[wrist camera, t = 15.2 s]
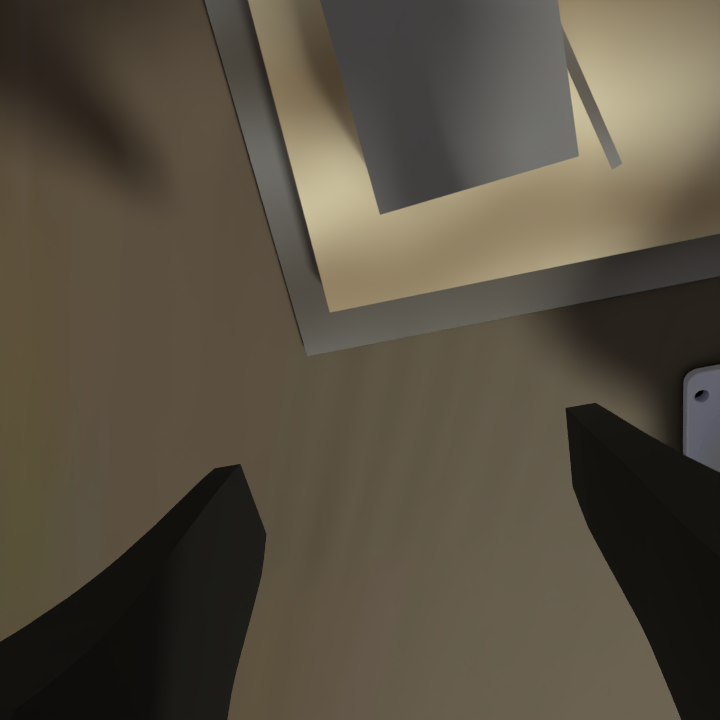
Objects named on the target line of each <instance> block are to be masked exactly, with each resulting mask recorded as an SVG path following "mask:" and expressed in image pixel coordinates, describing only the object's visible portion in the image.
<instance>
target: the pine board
mask: <svg viewBox="0 0 720 720" xmlns="http://www.w3.org/2000/svg"><path fill="white" fill-rule="evenodd" d="M205 4H206V7H207V11H208V14H209V18H210V21H211V25H212V28H213V32H214V35H215V39H216V42H217V46H218V49H219V52H220V56H221V59H222V63H223V66H224V70H225V73H226V77H227V80H228V84H229V87H230V91H231V94H232V97H233V101H234V104H235V108H236V111H237V115H238V118H239V122H240V125H241V129H242V132H243V136H244V139H245V142H246V146H247V149H248V153H249V156H250V160H251V163H252V167H253V170H254V174H255V177H256V181H257V184H258V188H259V191H260V194H261V198H262V201H263V205H264V208H265V212H266V215H267V219H268V222H269V226H270V229H271V233H272V236H273V239H274V243H275V246H276V250H277V253H278V257H279V260H280V264H281V267H282V271H283V274H284V278H285V281H286V284H287V288H288V291H289V295H290V298H291V302H292V305H293V309H294V312H295V316H296V319H297V323H298V326H299V330H300V333H301V336H302V340H303V343H304V347H305V350H306V354H307V356H311V355H316V354H321V353H326V352H332V351H337V350H342V349H347V348H352V347H357V346H363V345H368V344H373V343H378V342H383V341H388V340H393V339H399V338H404V337H409V336H414V335H419V334H424V333H430V332H435V331H440V330H445V329H450V328H455V327H461V326H466V325H471V324H476V323H481V322H486V321H491V320H497V319H502V318H507V317H512V316H517V315H522V314H528V313H533V312H538V311H543V310H548V309H553V308H559V307H564V306H569V305H574V304H579V303H584V302H590V301H595V300H600V299H605V298H610V297H615V296H620V295H626V294H631V293H636V292H641V291H646V290H651V289H657V288H662V287H667V286H672V285H677V284H682V283H688V282H693V281H698V280H703V279H708V278H713V277H719V276H720V0H558V4H559V12H560V19H561V26H562V34H563V41H564V49H565V56H566V63H567V71H568V78H569V86H570V93H571V100H572V108H573V115H574V123H575V130H576V137H577V145H578V152H579V156H578V157H575V158H572V159H568V160H565V161H561V162H558V163H555V164H551V165H548V166H544V167H541V168H538V169H534V170H531V171H527V172H524V173H521V174H517V175H514V176H511V177H507V178H504V179H500V180H497V181H494V182H490V183H487V184H483V185H480V186H477V187H473V188H470V189H466V190H463V191H460V192H456V193H453V194H449V195H446V196H443V197H439V198H436V199H433V200H429V201H426V202H422V203H419V204H416V205H412V206H409V207H405V208H402V209H399V210H395V211H392V212H388V213H385V214H382V215H380V213H379V210H378V206H377V202H376V199H375V195H374V192H373V188H372V185H371V181H370V177H369V174H368V170H367V167H366V163H365V160H364V156H363V152H362V149H361V145H360V142H359V138H358V135H357V131H356V127H355V124H354V120H353V117H352V113H351V110H350V106H349V102H348V99H347V95H346V92H345V88H344V85H343V81H342V77H341V74H340V70H339V67H338V63H337V60H336V56H335V52H334V49H333V45H332V42H331V38H330V35H329V31H328V27H327V24H326V20H325V17H324V13H323V10H322V6H321V2H320V0H205Z"/></svg>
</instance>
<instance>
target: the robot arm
mask: <svg viewBox="0 0 720 720" xmlns="http://www.w3.org/2000/svg"><path fill="white" fill-rule="evenodd" d="M701 390H704V392H703V394H702V395H701V396H699V397H695V394H696V393H697V392H698V391H701ZM566 417H567V429H568V440H569V451H570V462H571V473H572V484H573V489H574V491H575V494H576V497H577V499H578V502H579V505H580V507H581V510H582V512H583V515H584V518H585V520H586V523H587V525H588V528H589V530H590V531H591V533H592V535H593V537H594V539H595V541H596V543H597V545H598V547H599V548H600V550H601V552H602V554H603V556H604V558H605V560H606V561H607V563H608V565H609V567H610V569H611V571H612V572H613V574H614V576H615V578H616V580H617V582H618V583H619V585H620V587H621V589H622V591H623V593H624V594H625V596H626V598H627V600H628V602H629V604H630V605H631V607H632V609H633V611H634V613H635V615H636V616H637V618H638V620H639V622H640V624H641V626H642V628H643V630H644V632H645V635H646V637H647V639H648V641H649V643H650V645H651V648H652V650H653V652H654V655H655V657H656V659H657V662H658V664H659V667H660V669H661V671H662V674H663V676H664V678H665V681H666V683H667V686H668V688H669V690H670V693H671V695H672V698H673V700H674V703H675V705H676V708H677V710H678V713H679V715H680V718H681V720H720V364H719V365H714V366H708V367H702V368H697V369H694V370H692V371H690V372H689V373H688V374H687V375H686V376H685V378H684V382H683V454H682V453H680V452H678V451H676V450H674V449H673V448H671V447H669V446H667V445H665V444H663V443H662V442H660V441H658V440H656V439H655V438H653V437H651V436H649V435H648V434H646V433H644V432H643V431H641V430H639V429H638V428H636V427H634V426H633V425H631V424H630V423H628V422H626V421H625V420H623V419H621V418H620V417H618V416H617V415H615V414H613V413H612V412H610V411H608V410H607V409H605V408H603V407H602V406H600V405H598V404H597V403H592V404H586V405H580V406H575V407H569V408H566ZM265 542H266V532H265V529H264V526H263V524H262V521H261V518H260V516H259V513H258V510H257V508H256V505H255V502H254V500H253V497H252V494H251V492H250V489H249V486H248V483H247V481H246V478H245V475H244V473H243V470H242V467H241V465H240V464H238V465H232V466H226V467H220V468H215V469H214V470H212V471H211V472H210V473H209V474H208V475H206V476H205V477H204V478H203V479H202V480H201V481H200V482H199V483H198V484H197V485H196V486H195V487H194V488H193V489H192V490H191V491H190V492H189V493H188V494H187V495H186V496H185V497H184V498H183V499H181V500H180V501H179V502H178V503H177V504H176V505H175V506H174V507H173V508H172V509H171V510H170V511H169V512H168V513H167V514H166V515H165V516H164V517H163V518H162V519H161V520H160V521H159V522H158V523H157V524H156V525H155V526H154V527H153V528H152V529H150V530H149V531H148V532H147V533H146V534H145V535H144V536H143V537H142V538H140V539H139V540H138V541H137V542H136V543H135V544H134V545H133V546H132V547H130V548H129V549H128V550H127V551H126V552H125V553H124V554H123V555H122V556H121V557H119V558H118V559H117V560H116V561H115V562H113V563H112V564H111V565H110V566H109V567H107V568H106V569H105V570H104V571H102V572H101V573H100V574H99V575H97V576H96V577H95V578H94V579H92V580H91V581H90V582H88V583H87V584H86V585H84V586H83V587H82V588H81V589H79V590H78V591H77V592H75V593H74V594H72V595H71V596H70V597H68V598H67V599H65V600H64V601H62V602H61V603H59V604H58V605H56V606H55V607H54V608H52V609H51V610H49V611H48V612H46V613H45V614H43V615H42V616H40V617H39V618H37V619H36V620H34V621H33V622H31V623H30V624H28V625H27V626H25V627H24V628H22V629H21V630H19V631H17V632H16V633H14V634H12V635H11V636H9V637H7V638H6V639H4V640H3V641H1V642H0V720H227V717H228V711H229V705H230V699H231V693H232V688H233V684H234V679H235V675H236V670H237V666H238V663H239V659H240V655H241V651H242V648H243V644H244V640H245V637H246V633H247V629H248V625H249V622H250V618H251V614H252V610H253V607H254V603H255V599H256V595H257V591H258V587H259V583H260V579H261V575H262V568H263V560H264V552H265Z"/></svg>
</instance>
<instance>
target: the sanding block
mask: <svg viewBox="0 0 720 720" xmlns="http://www.w3.org/2000/svg"><path fill="white" fill-rule="evenodd" d="M320 2H321V6H322V10H323V13H324V17H325V20H326V24H327V27H328V31H329V35H330V38H331V42H332V45H333V49H334V52H335V56H336V60H337V63H338V67H339V70H340V74H341V77H342V81H343V85H344V88H345V92H346V95H347V99H348V102H349V106H350V110H351V113H352V117H353V120H354V124H355V127H356V131H357V135H358V138H359V142H360V145H361V149H362V152H363V156H364V160H365V163H366V167H367V170H368V174H369V177H370V181H371V185H372V188H373V192H374V195H375V199H376V202H377V206H378V210H379V213H380V215H382V214H385V213H388V212H392V211H395V210H399V209H402V208H405V207H409V206H412V205H416V204H419V203H422V202H426V201H429V200H433V199H436V198H439V197H443V196H446V195H449V194H453V193H456V192H460V191H463V190H466V189H470V188H473V187H477V186H480V185H483V184H487V183H490V182H494V181H497V180H500V179H504V178H507V177H511V176H514V175H517V174H521V173H524V172H527V171H531V170H534V169H538V168H541V167H544V166H548V165H551V164H555V163H558V162H561V161H565V160H568V159H572V158H575V157H578V156H579V152H578V145H577V137H576V130H575V123H574V115H573V108H572V100H571V93H570V86H569V78H568V71H567V63H566V56H565V49H564V41H563V34H562V26H561V19H560V12H559V4H558V0H320Z"/></svg>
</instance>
